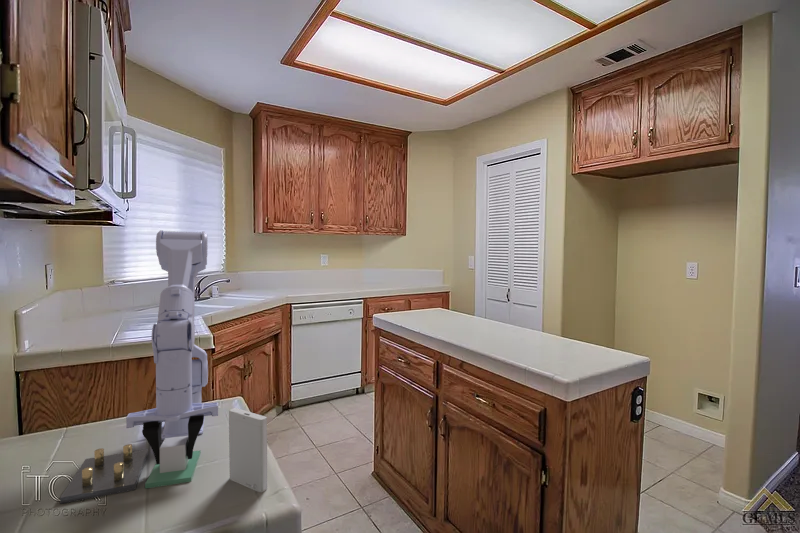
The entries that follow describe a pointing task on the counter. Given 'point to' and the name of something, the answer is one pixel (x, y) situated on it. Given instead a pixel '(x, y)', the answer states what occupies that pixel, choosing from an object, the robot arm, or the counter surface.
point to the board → (173, 475)
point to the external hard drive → (248, 449)
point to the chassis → (106, 475)
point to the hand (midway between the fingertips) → (175, 459)
